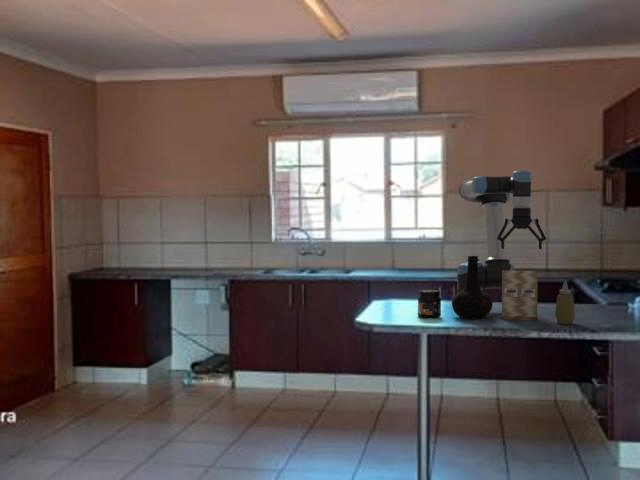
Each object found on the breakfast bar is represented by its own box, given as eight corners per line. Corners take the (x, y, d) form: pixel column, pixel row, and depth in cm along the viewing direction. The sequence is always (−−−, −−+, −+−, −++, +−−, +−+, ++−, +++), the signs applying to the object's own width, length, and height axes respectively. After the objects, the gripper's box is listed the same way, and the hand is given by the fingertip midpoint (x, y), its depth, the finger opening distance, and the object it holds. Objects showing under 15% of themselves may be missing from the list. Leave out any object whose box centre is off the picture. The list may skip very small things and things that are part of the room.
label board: (501, 319, 334) (502, 271, 333) (501, 317, 339) (502, 270, 338) (537, 320, 330) (537, 271, 329) (536, 318, 336) (536, 270, 335)
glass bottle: (450, 320, 333) (450, 256, 332) (453, 314, 350) (454, 254, 349) (491, 321, 328) (491, 257, 327) (493, 315, 346) (493, 254, 344)
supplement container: (413, 317, 342) (413, 291, 341) (424, 314, 350) (424, 289, 349) (434, 319, 335) (434, 292, 335) (445, 316, 344) (445, 290, 343)
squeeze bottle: (572, 322, 325) (572, 280, 324) (576, 325, 317) (577, 282, 316) (553, 322, 326) (553, 280, 325) (557, 324, 318) (557, 282, 317)
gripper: (491, 207, 321) (491, 257, 323) (552, 207, 316) (552, 257, 317) (491, 207, 329) (491, 255, 330) (551, 206, 323) (550, 256, 324)
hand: (521, 256), depth 324 cm, fingers open, 13 cm apart
